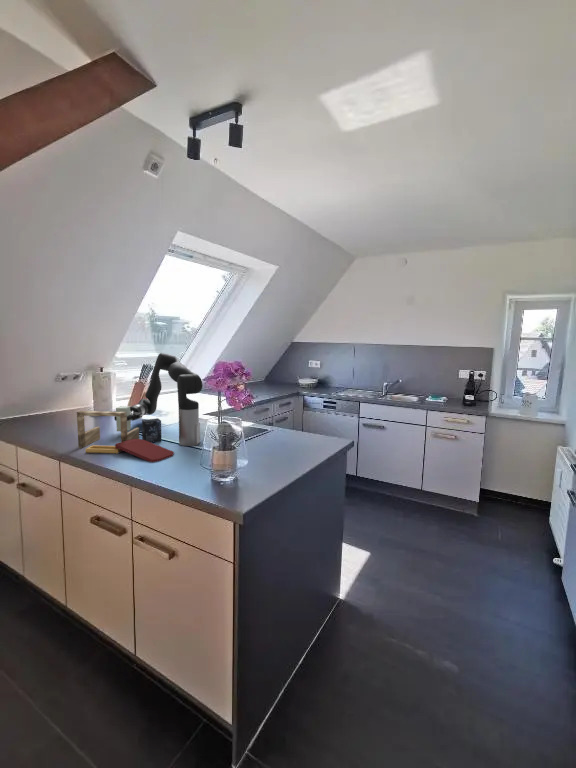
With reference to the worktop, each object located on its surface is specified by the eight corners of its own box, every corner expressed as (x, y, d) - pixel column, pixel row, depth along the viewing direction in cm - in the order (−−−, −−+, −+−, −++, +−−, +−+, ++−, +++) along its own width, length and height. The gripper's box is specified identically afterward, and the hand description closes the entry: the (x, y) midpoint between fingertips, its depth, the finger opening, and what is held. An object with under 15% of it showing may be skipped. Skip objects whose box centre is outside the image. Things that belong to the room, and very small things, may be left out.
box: (144, 443, 176) (144, 421, 175) (142, 440, 181) (141, 419, 180) (161, 441, 181) (161, 420, 179) (158, 438, 185) (158, 418, 184)
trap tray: (123, 449, 166) (123, 446, 165) (117, 453, 160) (117, 449, 160) (92, 449, 166) (92, 445, 166) (85, 453, 160) (85, 448, 160)
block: (130, 429, 192) (130, 406, 190) (126, 431, 187) (125, 408, 185) (121, 428, 192) (120, 406, 190) (116, 431, 187) (115, 407, 185)
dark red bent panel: (175, 463, 162) (133, 446, 172) (176, 452, 161) (134, 436, 171) (153, 472, 151) (110, 453, 161) (154, 460, 150) (111, 442, 160)
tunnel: (139, 439, 183) (138, 406, 181) (124, 449, 167) (123, 413, 165) (97, 438, 183) (95, 405, 181) (78, 448, 167) (76, 412, 165)
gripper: (122, 405, 202) (106, 411, 185) (148, 405, 202) (135, 411, 185) (122, 418, 203) (107, 425, 186) (148, 419, 203) (135, 426, 186)
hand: (121, 418), depth 186 cm, fingers closed on block, 5 cm apart
